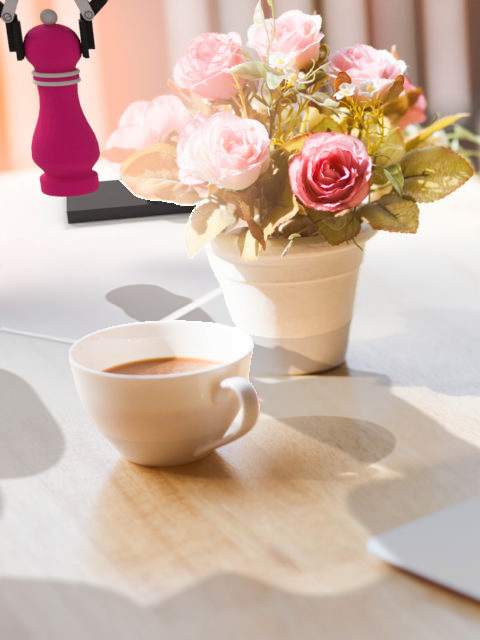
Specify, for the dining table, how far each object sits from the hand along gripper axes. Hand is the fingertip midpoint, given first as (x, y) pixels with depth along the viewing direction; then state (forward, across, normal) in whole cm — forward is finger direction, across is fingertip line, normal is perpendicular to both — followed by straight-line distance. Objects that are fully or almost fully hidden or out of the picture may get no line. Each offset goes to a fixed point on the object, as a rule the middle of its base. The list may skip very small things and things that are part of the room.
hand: (53, 56), depth 128 cm
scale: (+24, +7, +24) cm, 35 cm away
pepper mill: (+15, 0, 0) cm, 15 cm away
